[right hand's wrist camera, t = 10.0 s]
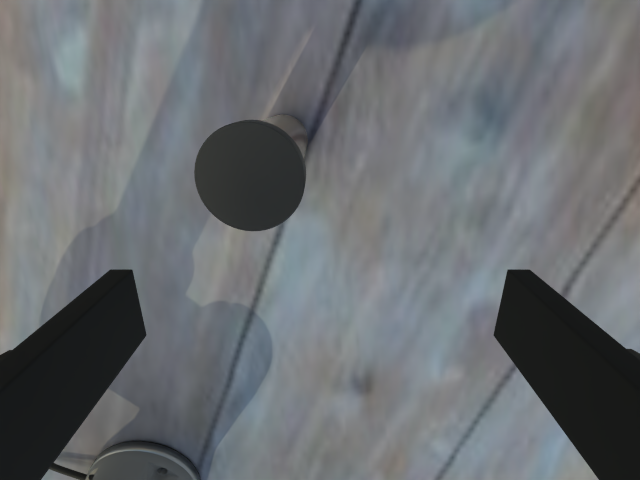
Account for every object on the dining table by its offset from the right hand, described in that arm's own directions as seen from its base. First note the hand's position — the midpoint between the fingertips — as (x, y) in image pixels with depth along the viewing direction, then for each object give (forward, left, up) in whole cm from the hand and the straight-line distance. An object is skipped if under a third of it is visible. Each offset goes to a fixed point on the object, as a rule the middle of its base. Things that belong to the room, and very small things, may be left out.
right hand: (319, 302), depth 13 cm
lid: (-3, +4, -7) cm, 8 cm away
